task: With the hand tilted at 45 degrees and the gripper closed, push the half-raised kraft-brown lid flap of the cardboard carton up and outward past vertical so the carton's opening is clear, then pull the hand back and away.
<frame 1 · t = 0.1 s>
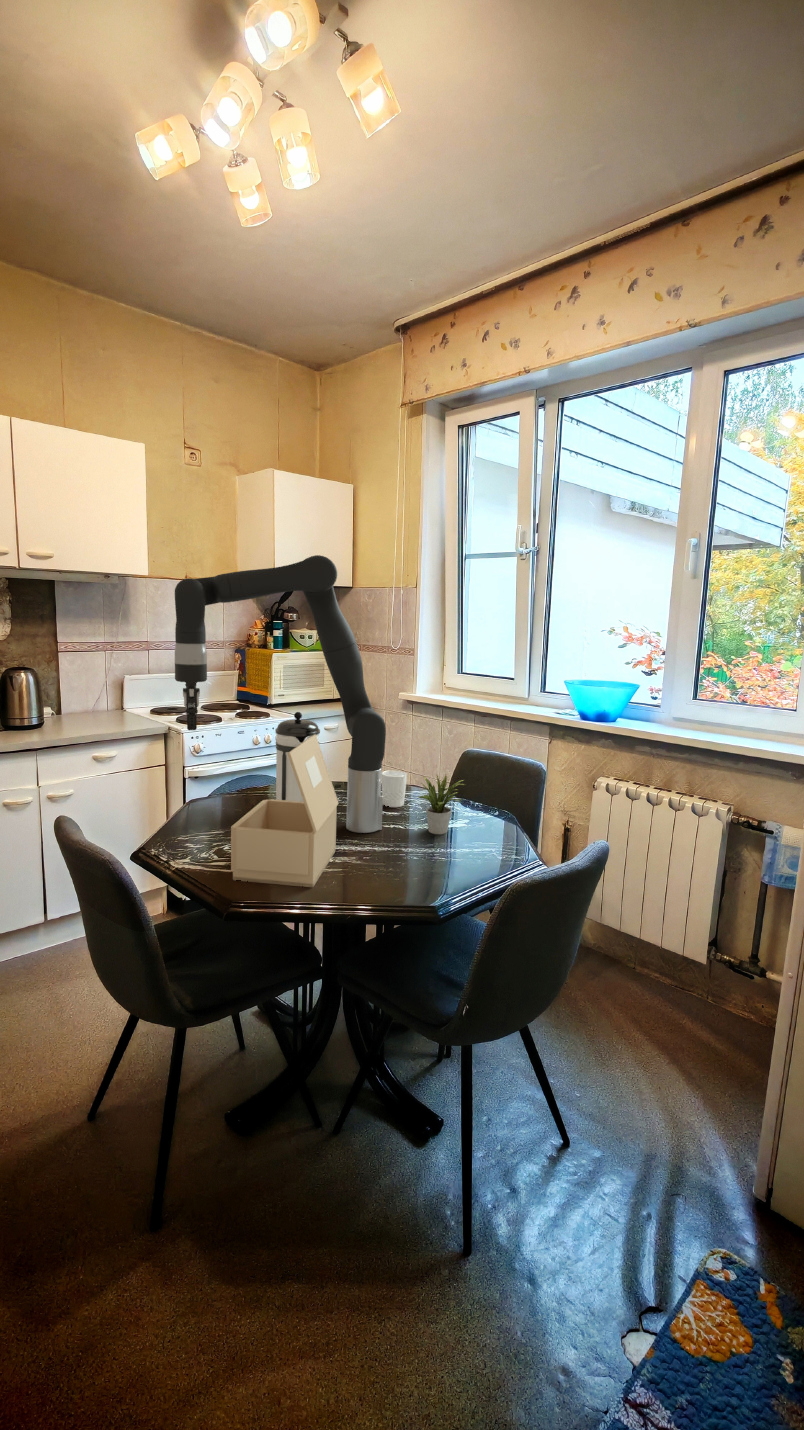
hand: (191, 726, 162), 29 cm above the table, tool pointing down, fingers open, 8 cm apart
lid flap: (315, 780, 148), point 21 cm above the table, hinge at 70.0°
carton: (287, 864, 152), on the table
coffee press: (294, 811, 193), on the table
house plant: (440, 833, 179), on the table
white cup: (393, 805, 204), on the table
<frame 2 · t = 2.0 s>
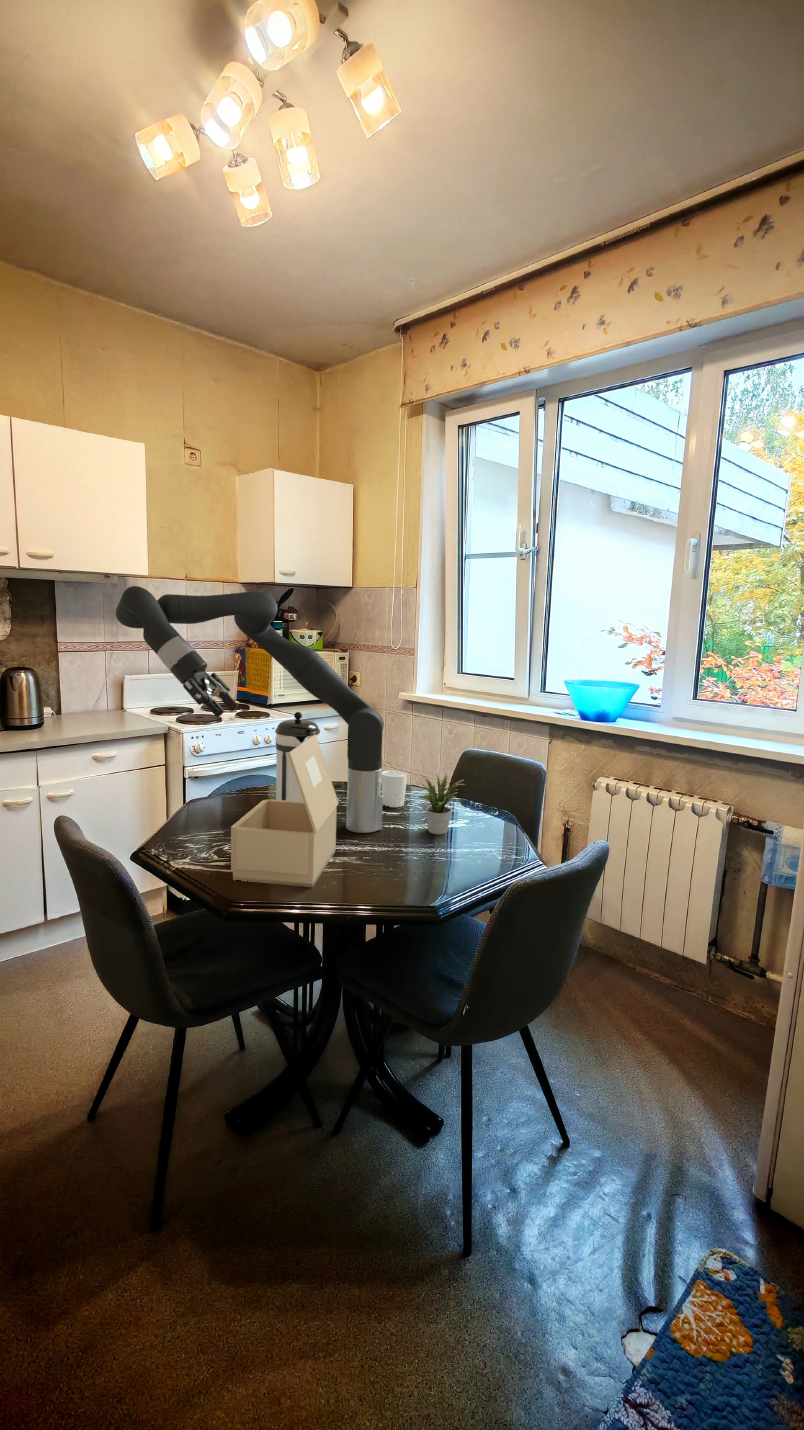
hand: (228, 711, 153), 35 cm above the table, tool tilted 45°, fingers open, 8 cm apart
nothing on the table moved.
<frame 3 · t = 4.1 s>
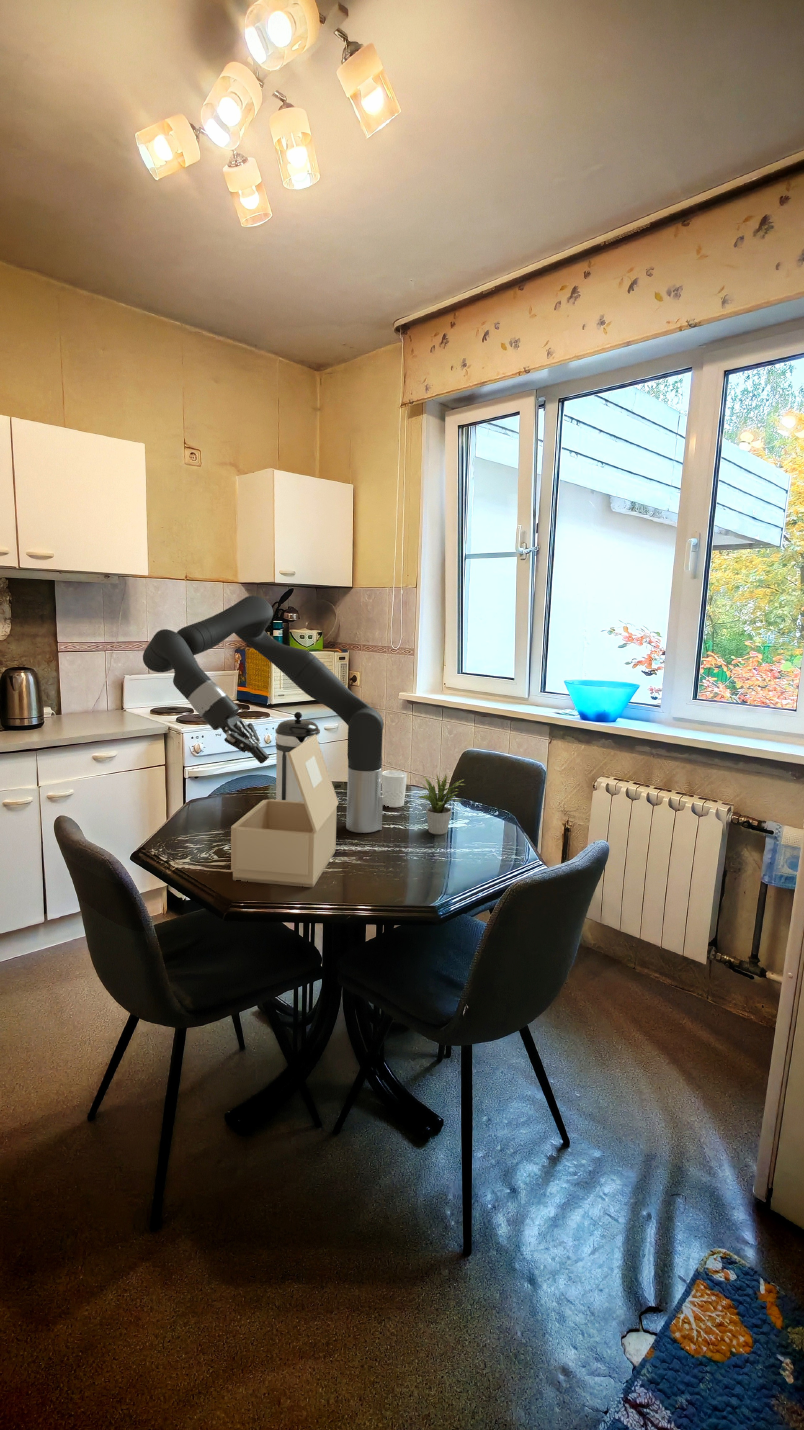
hand: (265, 760, 148), 25 cm above the table, tool tilted 45°, fingers closed
nothing on the table moved.
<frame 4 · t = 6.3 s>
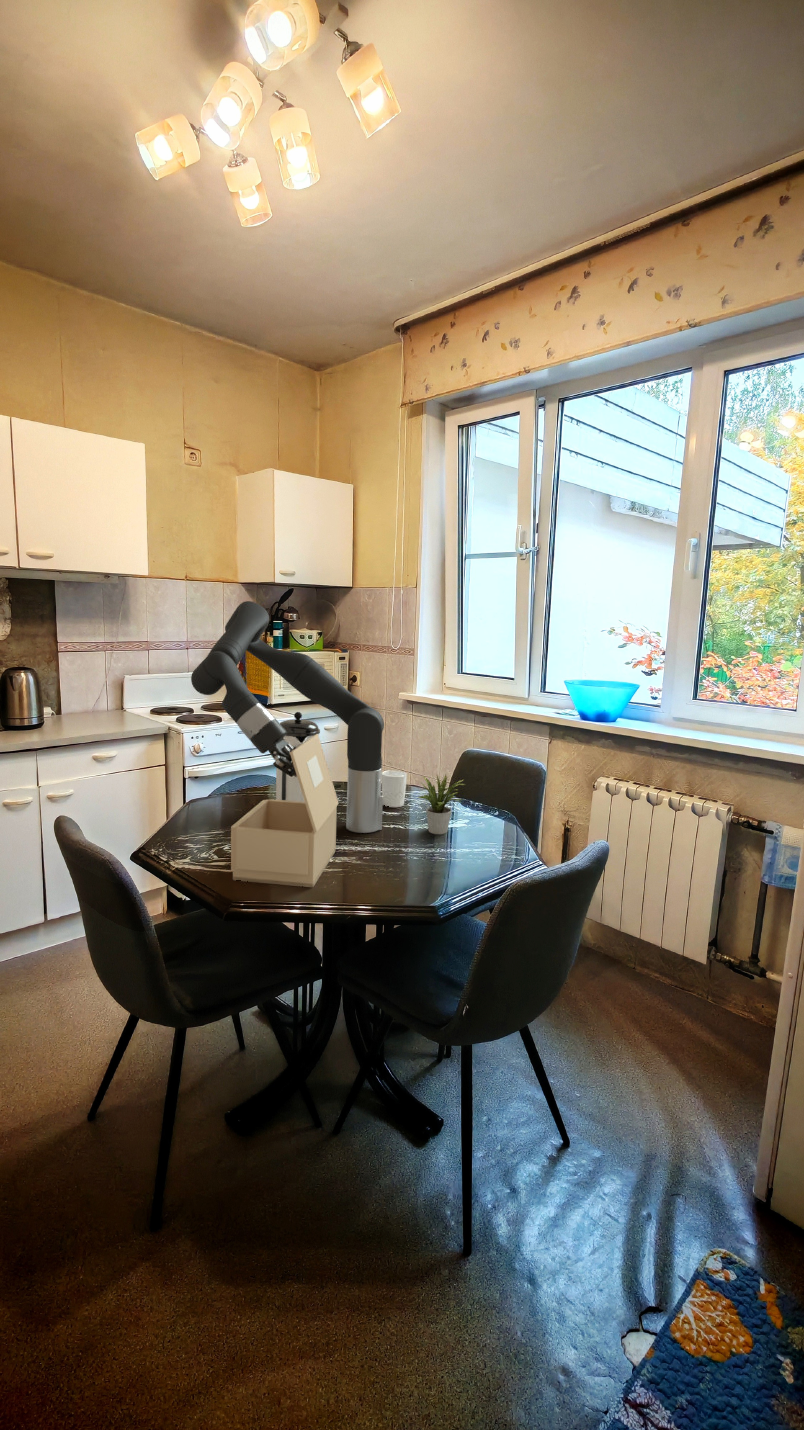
hand: (311, 785, 148), 20 cm above the table, tool tilted 45°, fingers closed
lid flap: (316, 779, 148), point 21 cm above the table, hinge at 71.9°, touching gripper
everything else where it was.
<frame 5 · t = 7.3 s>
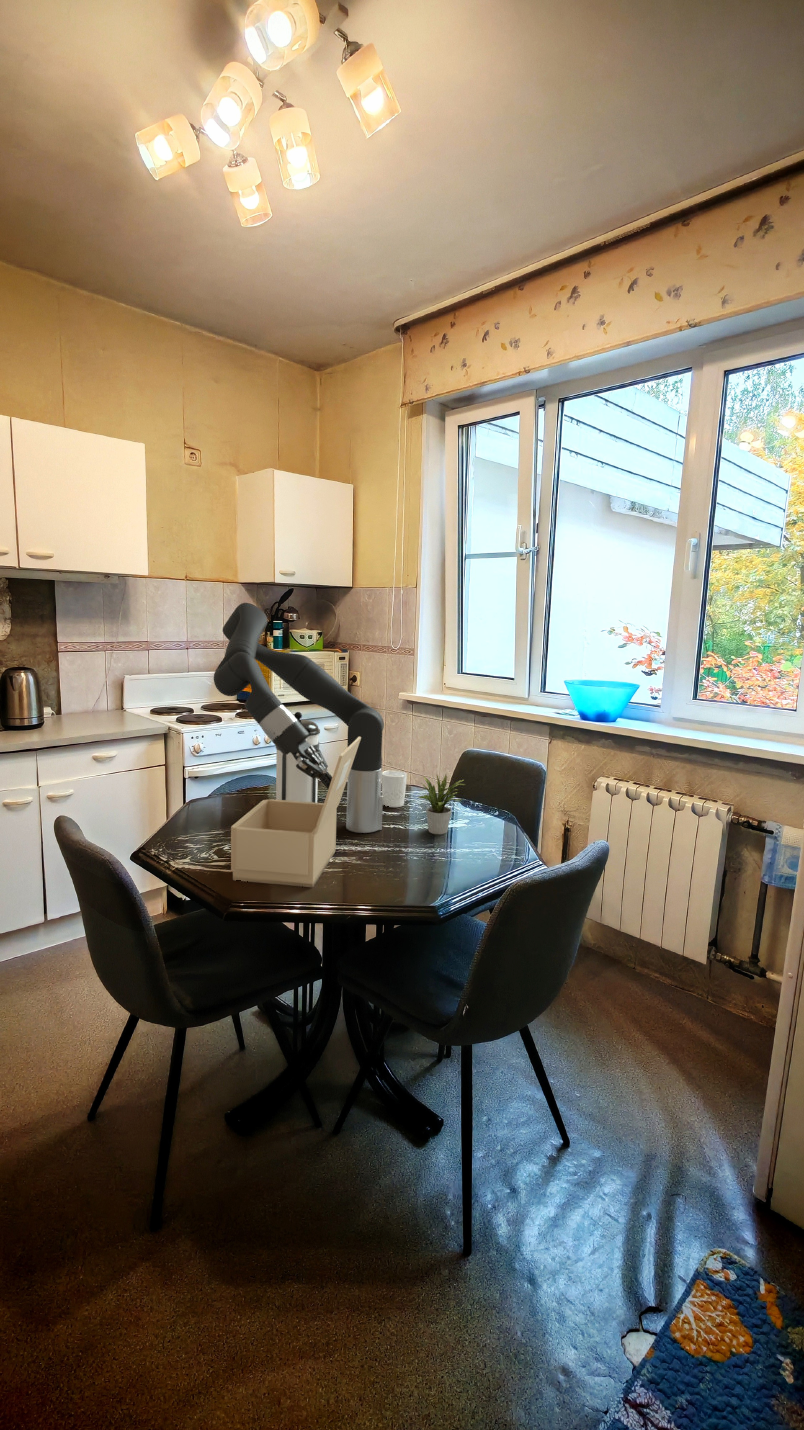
hand: (333, 787, 147), 20 cm above the table, tool tilted 45°, fingers closed
lid flap: (339, 782, 148), point 21 cm above the table, hinge at 106.5°, touching gripper
everything else where it was.
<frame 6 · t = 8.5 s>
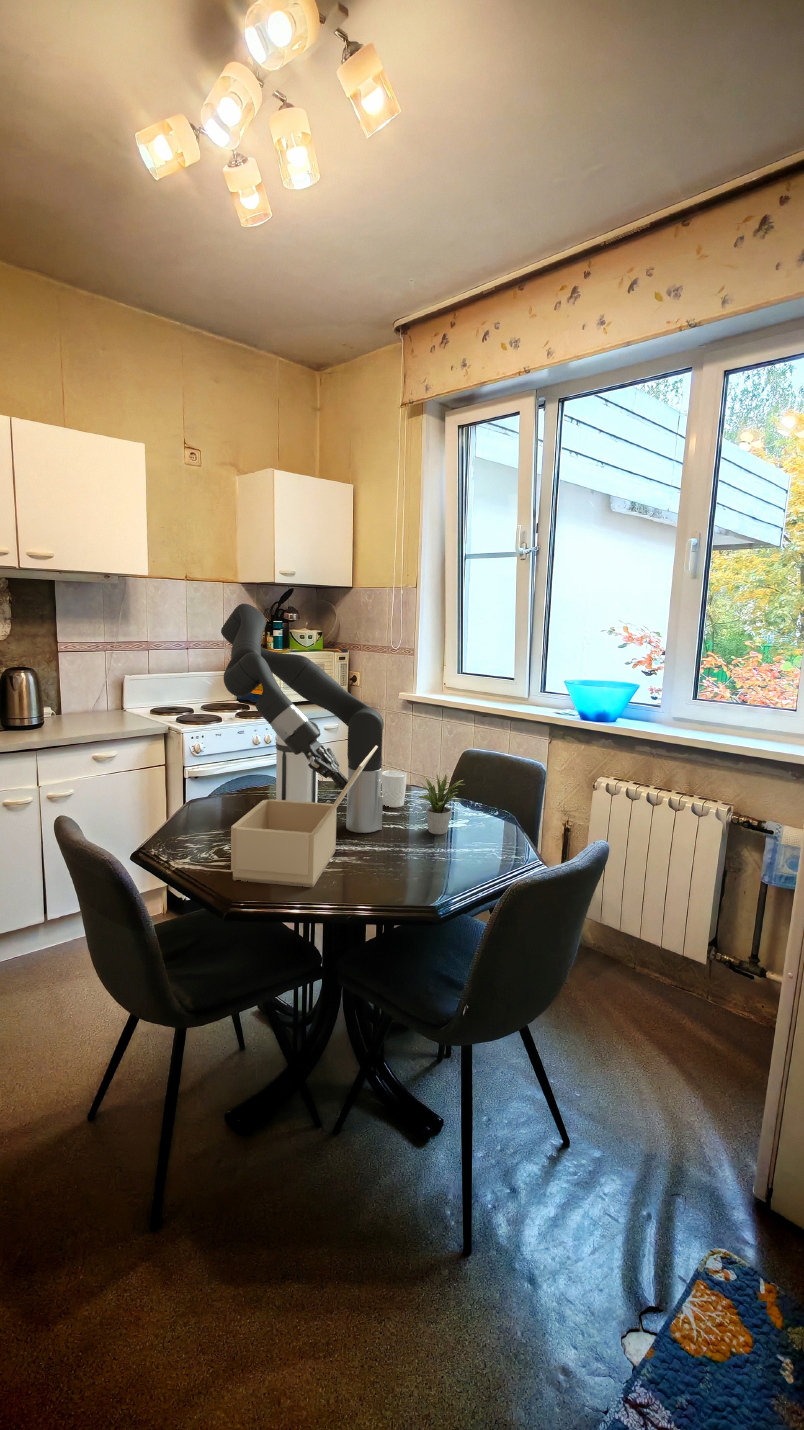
hand: (345, 786, 147), 20 cm above the table, tool tilted 45°, fingers closed
lid flap: (348, 787, 148), point 20 cm above the table, hinge at 121.3°, touching gripper
everything else where it was.
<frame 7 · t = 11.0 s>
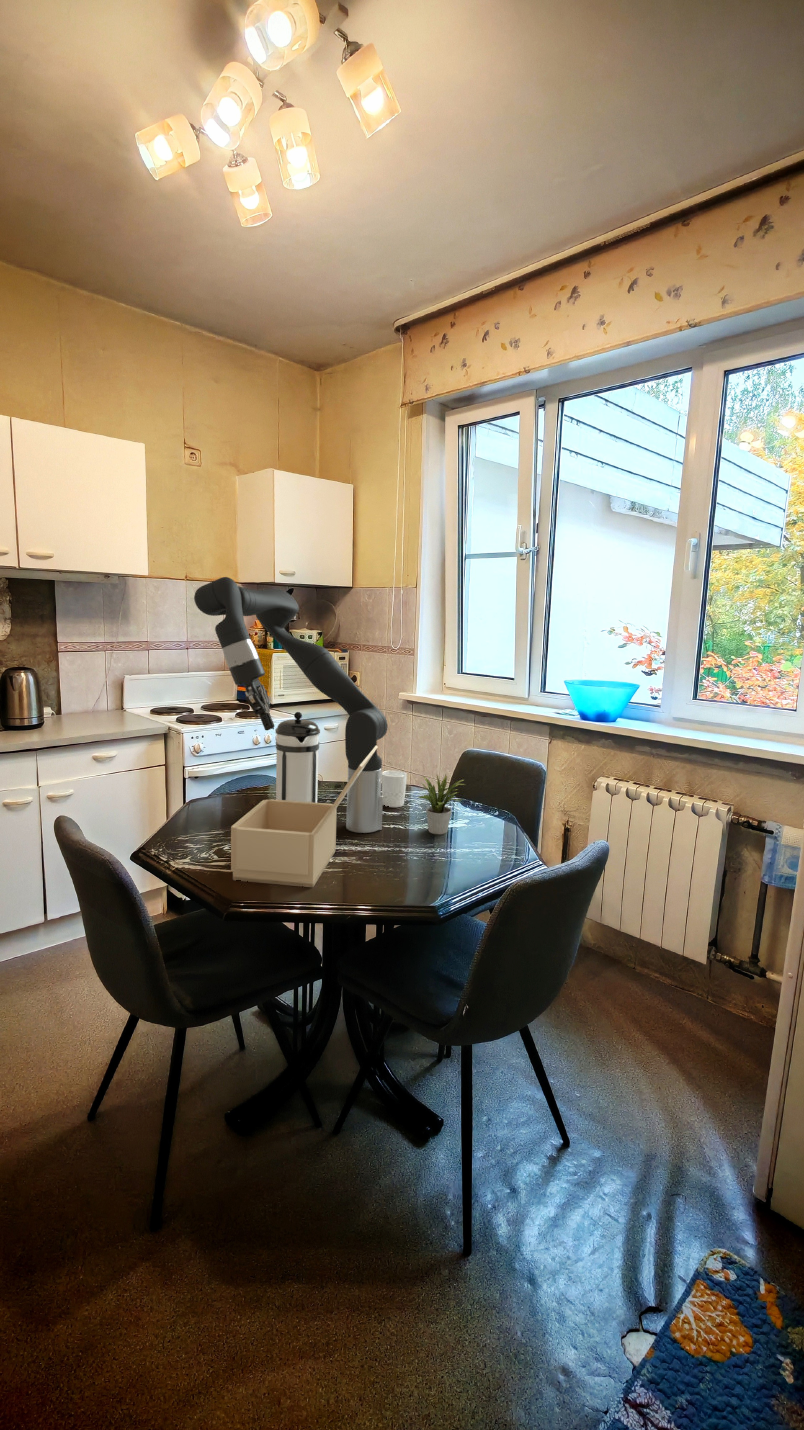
hand: (270, 728, 157), 30 cm above the table, tool tilted 25°, fingers closed
lid flap: (348, 787, 148), point 20 cm above the table, hinge at 121.3°
everything else where it was.
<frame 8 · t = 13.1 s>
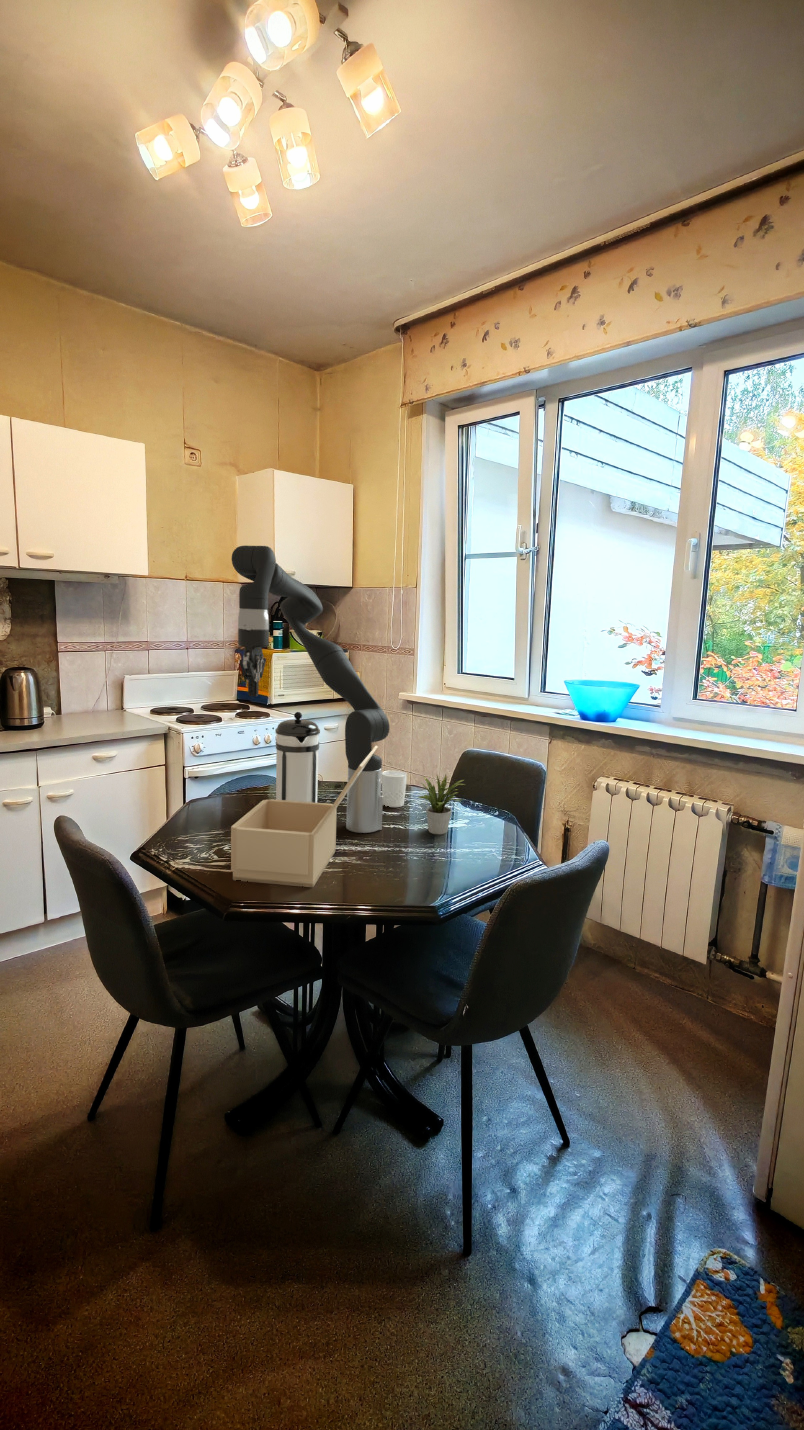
hand: (253, 696, 165), 37 cm above the table, tool pointing down, fingers closed
nothing on the table moved.
at the end: lid flap at +121° (first picture: +70°); coffee press moved 0.2 cm from its start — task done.
